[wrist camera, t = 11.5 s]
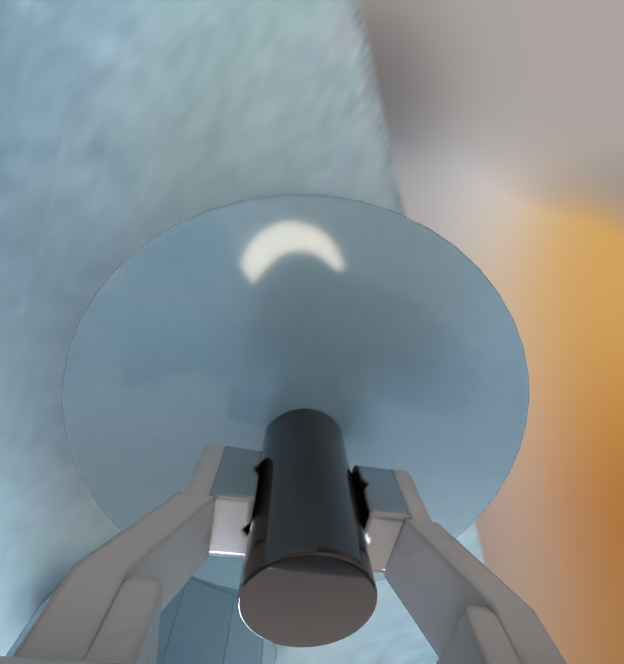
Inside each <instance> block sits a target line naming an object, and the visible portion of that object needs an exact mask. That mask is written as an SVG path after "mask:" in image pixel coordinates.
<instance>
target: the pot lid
mask: <svg viewBox="0 0 624 664" xmlns="http://www.w3.org/2000/svg"><path fill="white" fill-rule="evenodd" d="M528 405H529V380H528V370H527V364H526V359H525V353H524V348H523V345H522V342H521V339H520V336H519V333H518V331H517V328H516V325H515V322H514V320H513V318H512V317H511V314H510V313H509V311H508V309H507V307H506V305H505V304H504V302H503V300H502V298H501V296H500V294H499V293H498V292H497V291H496V289H495V288H494V287H493V285H492V284H491V283H490V281H489V280H488V279H487V278H486V276H485V275H484V274H483V272H482V271H481V270H480V269H479V268H478V267H477V266H476V265H475V264H474V263H473V262H472V261H471V260H470V259H468V258H467V257H466V256H465V255H464V254H463V253H462V252H461V251H460V250H459V249H458V248H457V247H455V246H454V245H452V244H451V243H449V242H448V241H447V240H445V239H444V238H442V237H441V236H439V235H438V234H436V233H435V232H433V231H432V230H430V229H429V228H427V227H425V226H423V225H421V224H419V223H417V222H415V221H413V220H411V219H409V218H406V217H404V216H402V215H400V214H398V213H396V212H393V211H390V210H387V209H383V208H380V207H377V206H374V205H370V204H367V203H364V202H361V201H355V200H349V199H342V198H336V197H330V196H323V195H279V196H271V197H263V198H256V199H248V200H243V201H239V202H236V203H232V204H229V205H225V206H222V207H218V208H214V209H211V210H208V211H205V212H203V213H201V214H199V215H196V216H194V217H192V218H190V219H187V220H185V221H183V222H181V223H178V224H176V225H174V226H172V227H171V228H169V229H168V230H166V231H165V232H163V233H161V234H160V235H158V236H157V237H155V238H154V239H152V240H151V241H149V242H147V243H146V244H144V245H143V246H142V247H141V248H139V249H138V250H137V251H136V252H135V253H134V254H133V255H132V256H130V257H129V258H128V259H127V260H126V261H125V262H124V263H122V264H121V265H120V266H119V267H118V268H117V269H116V270H115V271H114V273H113V274H112V275H111V276H110V277H109V279H108V280H107V281H106V282H105V283H104V285H103V286H102V287H101V288H100V290H99V291H98V292H97V293H96V294H95V296H94V298H93V300H92V301H91V303H90V305H89V307H88V308H87V310H86V312H85V313H84V315H83V317H82V319H81V320H80V322H79V325H78V327H77V330H76V332H75V335H74V338H73V340H72V343H71V346H70V348H69V351H68V356H67V361H66V366H65V371H64V376H63V391H62V411H63V419H64V426H65V434H66V438H67V441H68V444H69V448H70V451H71V455H72V458H73V461H74V463H75V465H76V467H77V469H78V472H79V474H80V476H81V478H82V480H83V482H84V484H85V486H86V487H87V489H88V490H89V492H90V494H91V495H92V497H93V498H94V500H95V501H96V503H97V504H98V506H99V507H100V508H101V509H102V510H103V512H104V513H105V514H106V515H107V516H108V517H109V519H110V520H111V521H112V522H113V523H114V524H115V525H116V526H117V527H118V528H119V529H120V530H121V531H124V530H125V529H126V528H128V527H129V526H131V525H132V524H133V523H135V522H136V521H138V520H139V519H141V518H142V517H143V516H145V515H146V514H148V513H149V512H150V511H152V510H153V509H155V508H156V507H158V506H159V505H160V504H162V503H163V502H165V501H166V500H167V499H169V498H170V497H172V496H173V495H174V494H176V493H177V492H179V491H180V492H185V491H186V489H187V487H188V484H189V482H190V480H191V477H192V475H193V473H194V470H195V468H196V466H197V463H198V461H199V459H200V456H201V454H202V452H203V449H204V447H205V446H206V445H207V443H209V444H215V445H221V446H229V447H235V448H242V449H248V450H254V451H260V452H263V453H262V460H261V466H260V471H259V479H258V485H257V491H256V497H255V503H254V508H253V514H252V519H251V522H250V523H249V527H248V533H247V540H246V546H245V552H244V558H240V557H225V556H211V555H208V558H207V559H206V560H205V561H204V563H203V564H202V565H201V566H200V567H199V568H198V570H197V571H196V572H195V573H194V574H193V575H192V576H193V577H196V578H198V579H201V580H204V581H207V582H210V583H213V584H217V585H220V586H224V587H228V588H233V589H237V590H238V594H237V608H238V612H239V615H240V618H241V620H242V621H243V623H244V624H245V625H246V627H247V628H248V629H249V630H250V631H251V632H253V633H254V634H256V635H257V636H259V637H261V638H262V639H264V640H267V641H269V642H272V643H275V644H279V645H283V646H290V647H315V646H321V645H326V644H330V643H333V642H336V641H339V640H341V639H344V638H346V637H348V636H350V635H351V634H353V633H354V632H356V631H357V630H359V629H360V628H361V627H362V626H363V625H364V624H365V623H366V622H367V621H368V620H369V618H370V617H371V616H372V614H373V612H374V610H375V606H376V602H377V588H376V583H375V582H376V581H379V580H382V579H385V576H384V573H380V572H373V570H372V565H371V560H370V556H369V551H368V547H367V542H366V538H365V533H364V528H363V524H362V519H361V515H360V510H359V506H358V501H357V497H356V492H355V487H354V483H353V478H352V474H351V472H352V469H353V467H354V466H355V465H361V466H368V467H376V468H383V469H395V470H404V471H407V472H408V473H409V474H410V476H411V478H412V480H413V482H414V484H415V486H416V488H417V491H418V493H419V495H420V497H421V499H422V501H423V503H424V506H425V508H426V510H427V512H428V514H429V516H430V518H431V521H432V522H436V523H438V524H440V525H441V526H442V527H443V528H444V529H445V530H446V531H447V532H448V533H449V534H451V535H452V536H453V537H454V538H456V537H458V536H459V535H460V534H461V533H462V532H464V531H465V530H466V529H467V528H468V527H469V526H470V525H471V524H472V523H473V522H474V521H475V520H476V519H477V518H478V517H479V516H480V514H481V513H482V512H483V511H484V510H485V509H486V507H487V506H488V505H489V503H490V502H491V501H492V499H493V498H494V497H495V496H496V494H497V493H498V491H499V489H500V488H501V486H502V484H503V483H504V481H505V479H506V478H507V475H508V474H509V472H510V470H511V468H512V465H513V463H514V461H515V459H516V456H517V454H518V452H519V449H520V445H521V441H522V438H523V434H524V431H525V427H526V421H527V413H528Z"/></svg>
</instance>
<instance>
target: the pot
mask: <svg viewBox="0 0 624 664" xmlns="http://www.w3.org/2000/svg"><path fill="white" fill-rule="evenodd" d="M56 590H57V589H56ZM56 590H55V591H54V592H53V593H52V594H51V595H50V596H49V597H48V598H47V599H46V600H45V601H44V602H43V603H42V604H41V605H40V606H39V608H38V609H37V610H36V612H35V613H34V615H33V616H32V618H31V619H30V621H29V622H28V624H27V625H26V627H25V628H24V630H23V631H22V632H21V634H20V635H19V637H18V638H17V640H16V641H15V643H14V644H13V646H12V647H11V649H10V650H9V652H8V653H7V654H6V656H8V657H12V656H13V654H14V653H15V651H16V650H17V648H18V647H19V645H20V644H21V642H22V641H23V639H24V638H25V637H26V635H27V634H28V632H29V631H30V629H31V628H32V626H33V625H34V623H35V622H36V620H37V619H38V617H39V616H40V614H41V613H42V611H43V610H44V608H45V607H46V605H47V604H48V602H49V601H50V599H51V598H52V596H53V595H54V593H55V592H56ZM237 594H238V590H237V589H233V588H228V587H224V586H220V585H217V584H213V583H210V582H207V581H204V580H201V579H198V578H196V577H193V576H192V577H191V578H190V579H189V580H188V581H187V582H186V584H185V585H184V586H183V587H182V588H181V589H180V591H179V592H178V593H177V594H176V595H175V596H174V598H173V599H172V600H171V601H170V602H169V603H168V605H167V606H166V607H165V608H164V609H163V610H162V612H161V615H160V626H159V638H158V650H157V661H156V664H275V662H276V649H275V643H272V642H269V641H267V640H264V639H262V638H261V637H259V636H257V635H256V634H254V633H253V632H251V631H250V630H249V629H248V628H247V627H246V625H245V624H244V623H243V621H242V620H241V618H240V615H239V612H238V608H237Z"/></svg>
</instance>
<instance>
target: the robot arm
mask: <svg viewBox="0 0 624 664" xmlns="http://www.w3.org/2000/svg"><path fill="white" fill-rule="evenodd" d="M262 453H263V452H260V451H254V450H248V449H242V448H235V447H229V446H221V445H215V444H209V443H207V445H206V446H205V447H204V449H203V452H202V454H201V456H200V459H199V461H198V463H197V466H196V468H195V470H194V473H193V475H192V477H191V480H190V482H189V484H188V487H187V489H186V491H185V492H180V491H179V492H177V493H176V494H174V495H173V496H172V497H170V498H169V499H167V500H166V501H165V502H163V503H162V504H160V505H159V506H158V507H156V508H155V509H153V510H152V511H150V512H149V513H148V514H146V515H145V516H143V517H142V518H141V519H139V520H138V521H136V522H135V523H133V524H132V525H131V526H129V527H128V528H126V529H125V530H124V531H122V532H121V533H119V534H118V535H117V536H115V537H114V538H112V539H111V540H109V541H108V542H107V543H105V544H104V545H102V546H101V547H100V548H98V549H97V550H95V551H94V552H92V553H91V554H90V555H88V556H87V557H85V558H84V559H83V560H81V561H80V562H78V563H77V564H75V565H74V566H73V567H72V568H71V569H70V571H69V572H68V574H67V575H66V577H65V578H64V580H63V581H62V583H61V584H60V586H59V587H58V589H57V590H56V592H55V593H54V595H53V596H52V598H51V599H50V601H49V602H48V604H47V605H46V607H45V608H44V610H43V611H42V613H41V614H40V616H39V617H38V619H37V620H36V622H35V623H34V625H33V626H32V628H31V629H30V631H29V632H28V634H27V635H26V637H25V638H24V639H23V641H22V642H21V644H20V645H19V647H18V648H17V650H16V651H15V653H14V654H13V656H12V657H8V656H0V664H156V661H157V650H158V638H159V626H160V615H161V612H162V610H163V609H164V608H165V607H166V606H167V605H168V603H169V602H170V601H171V600H172V599H173V598H174V596H175V595H176V594H177V593H178V592H179V591H180V589H181V588H182V587H183V586H184V585H185V584H186V582H187V581H188V580H189V579H190V578H191V577H192V575H193V574H194V573H195V572H196V571H197V570H198V568H199V567H200V566H201V565H202V564H203V563H204V561H205V560H206V559H207V558H208V555H211V556H225V557H240V558H244V552H245V546H246V540H247V533H248V527H249V523H250V522H251V519H252V514H253V508H254V503H255V497H256V491H257V485H258V479H259V471H260V466H261V460H262ZM351 474H352V478H353V483H354V487H355V492H356V497H357V501H358V506H359V510H360V515H361V519H362V524H363V528H364V533H365V538H366V542H367V547H368V551H369V556H370V560H371V565H372V570H373V572H380V573H384V576H385V578H386V579H387V581H388V582H389V584H390V585H391V587H392V588H393V590H394V591H395V593H396V594H397V596H398V597H399V599H400V600H401V601H402V603H403V604H404V606H405V607H406V609H407V610H408V612H409V613H410V615H411V616H412V618H413V619H414V621H415V622H416V624H417V625H418V627H419V628H420V630H421V631H422V633H423V634H424V636H425V637H426V639H427V640H428V642H429V643H430V645H431V646H432V648H433V649H434V651H435V652H436V654H437V655H438V657H439V660H438V661H437V663H436V664H566V662H565V660H564V659H563V657H562V655H561V654H560V652H559V650H558V649H557V647H556V645H555V644H554V642H553V641H552V639H551V637H550V636H549V634H548V633H547V631H546V629H545V628H544V626H543V624H542V623H541V621H540V620H539V618H538V616H537V615H536V613H535V612H534V610H533V609H532V608H531V607H530V606H528V605H527V604H526V603H525V602H524V601H523V600H522V599H521V598H520V597H519V596H518V595H516V594H515V593H514V592H513V591H512V590H511V589H510V588H509V587H508V586H507V585H506V584H504V583H503V582H502V581H501V580H500V579H499V578H498V577H497V576H496V575H495V574H493V573H492V572H491V571H490V570H489V569H488V568H487V567H486V566H485V565H484V564H482V563H481V562H480V561H479V560H478V559H477V558H476V557H475V556H474V555H473V554H471V553H470V552H469V551H468V550H467V549H466V548H465V547H464V546H463V545H462V544H460V543H459V542H458V541H457V540H456V539H455V538H454V537H453V536H452V535H451V534H449V533H448V532H447V531H446V530H445V529H444V528H443V527H442V526H441V525H440V524H438V523H436V522H432V521H431V518H430V516H429V514H428V512H427V510H426V508H425V506H424V503H423V501H422V499H421V497H420V495H419V493H418V491H417V488H416V486H415V484H414V482H413V480H412V478H411V476H410V474H409V473H408V472H407V471H404V470H395V469H383V468H376V467H368V466H361V465H355V466H354V467H353V469H352V472H351Z"/></svg>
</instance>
